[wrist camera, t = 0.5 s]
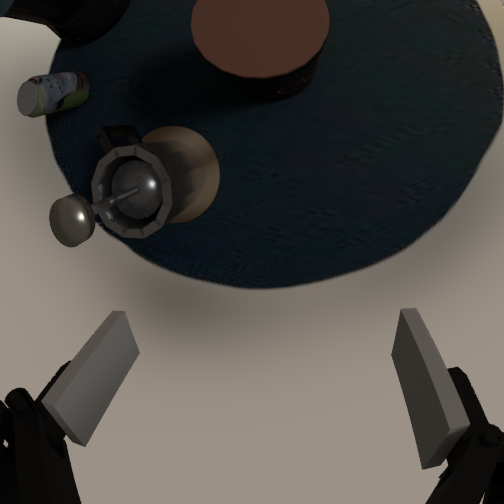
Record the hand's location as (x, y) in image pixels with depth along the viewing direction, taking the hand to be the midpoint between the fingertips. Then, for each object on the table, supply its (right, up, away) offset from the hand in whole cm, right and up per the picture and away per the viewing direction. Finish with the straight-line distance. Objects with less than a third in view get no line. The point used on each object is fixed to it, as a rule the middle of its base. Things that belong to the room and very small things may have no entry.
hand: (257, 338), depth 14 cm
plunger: (-13, +11, +19) cm, 25 cm away
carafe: (-12, +16, +27) cm, 34 cm away
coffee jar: (+3, +28, +21) cm, 35 cm away
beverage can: (-28, +29, +25) cm, 48 cm away
